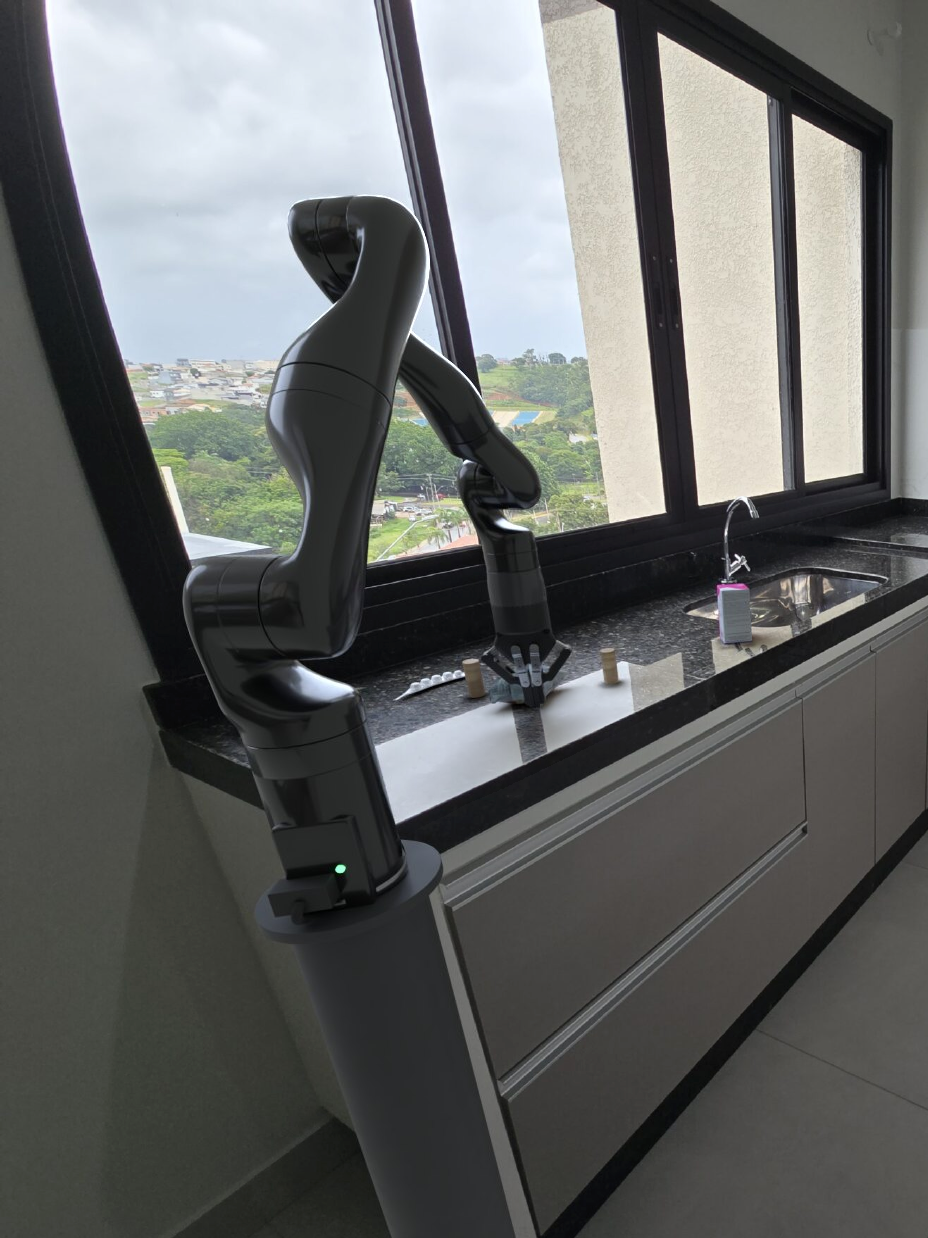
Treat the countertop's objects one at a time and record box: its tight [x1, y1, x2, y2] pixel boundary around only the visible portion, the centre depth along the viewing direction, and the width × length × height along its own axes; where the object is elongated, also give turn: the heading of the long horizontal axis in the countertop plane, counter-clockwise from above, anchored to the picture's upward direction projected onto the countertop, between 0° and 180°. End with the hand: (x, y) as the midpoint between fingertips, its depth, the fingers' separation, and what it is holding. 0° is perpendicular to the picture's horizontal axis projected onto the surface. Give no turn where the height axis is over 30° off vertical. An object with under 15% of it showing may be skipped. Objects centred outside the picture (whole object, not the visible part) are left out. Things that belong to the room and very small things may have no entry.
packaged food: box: [488, 663, 572, 705], centre depth 121 cm, size 9×12×5 cm
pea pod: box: [394, 669, 465, 702], centre depth 126 cm, size 15×4×2 cm, turn 151°
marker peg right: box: [599, 647, 620, 685], centre depth 128 cm, size 2×2×6 cm
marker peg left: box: [462, 658, 486, 699], centre depth 122 cm, size 2×2×6 cm
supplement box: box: [716, 583, 753, 646], centre depth 150 cm, size 6×6×12 cm
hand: (536, 706), depth 115 cm, fingers closed
